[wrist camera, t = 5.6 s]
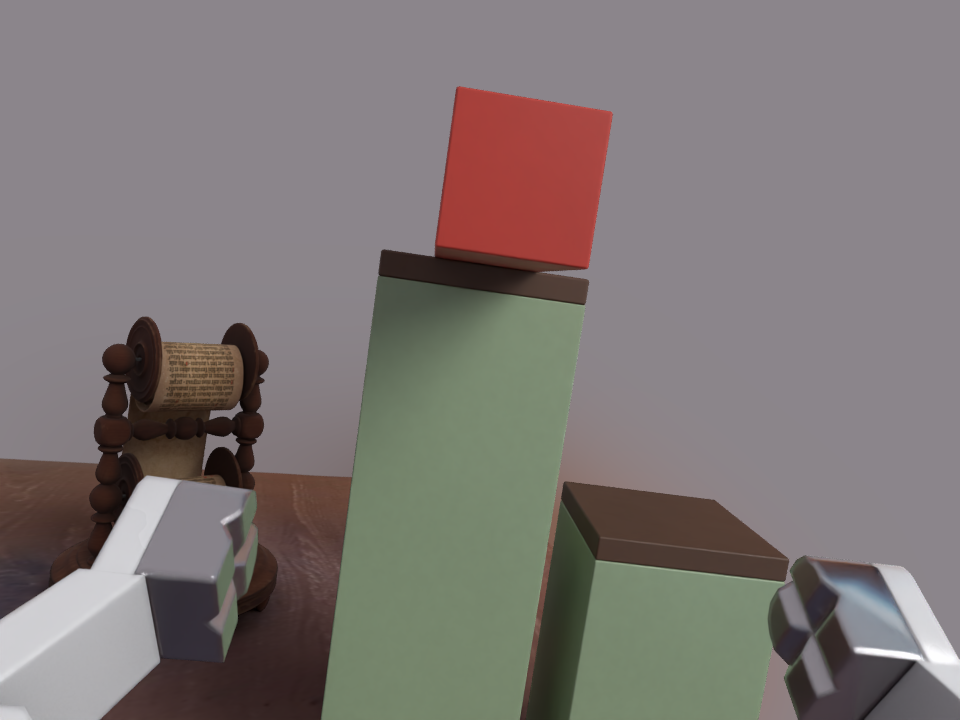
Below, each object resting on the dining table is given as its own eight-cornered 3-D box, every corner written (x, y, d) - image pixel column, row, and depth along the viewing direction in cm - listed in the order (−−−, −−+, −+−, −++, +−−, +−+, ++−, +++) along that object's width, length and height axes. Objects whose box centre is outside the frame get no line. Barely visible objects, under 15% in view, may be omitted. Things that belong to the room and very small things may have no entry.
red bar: (588, 269, 19) (613, 111, 18) (434, 246, 18) (456, 85, 18) (502, 273, 42) (512, 205, 42) (434, 264, 42) (443, 194, 42)
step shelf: (753, 937, 30) (877, 321, 28) (269, 900, 29) (351, 243, 26) (674, 774, 40) (760, 309, 38) (311, 740, 39) (374, 252, 36)
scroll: (218, 545, 62) (244, 313, 60) (312, 617, 52) (347, 342, 50) (20, 577, 52) (43, 298, 50) (89, 676, 41) (122, 330, 39)
